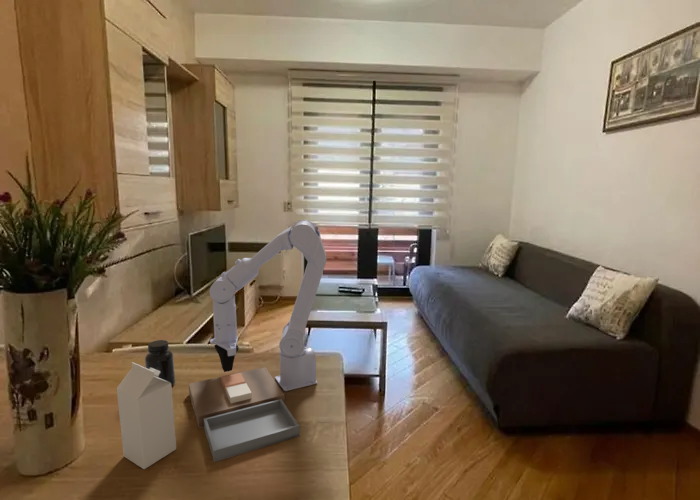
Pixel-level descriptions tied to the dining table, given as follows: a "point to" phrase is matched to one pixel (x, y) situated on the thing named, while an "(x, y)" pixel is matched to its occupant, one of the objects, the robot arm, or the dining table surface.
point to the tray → (249, 429)
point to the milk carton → (146, 416)
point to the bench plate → (215, 401)
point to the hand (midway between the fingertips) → (227, 370)
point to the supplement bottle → (161, 360)
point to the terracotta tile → (232, 380)
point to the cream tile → (238, 393)
